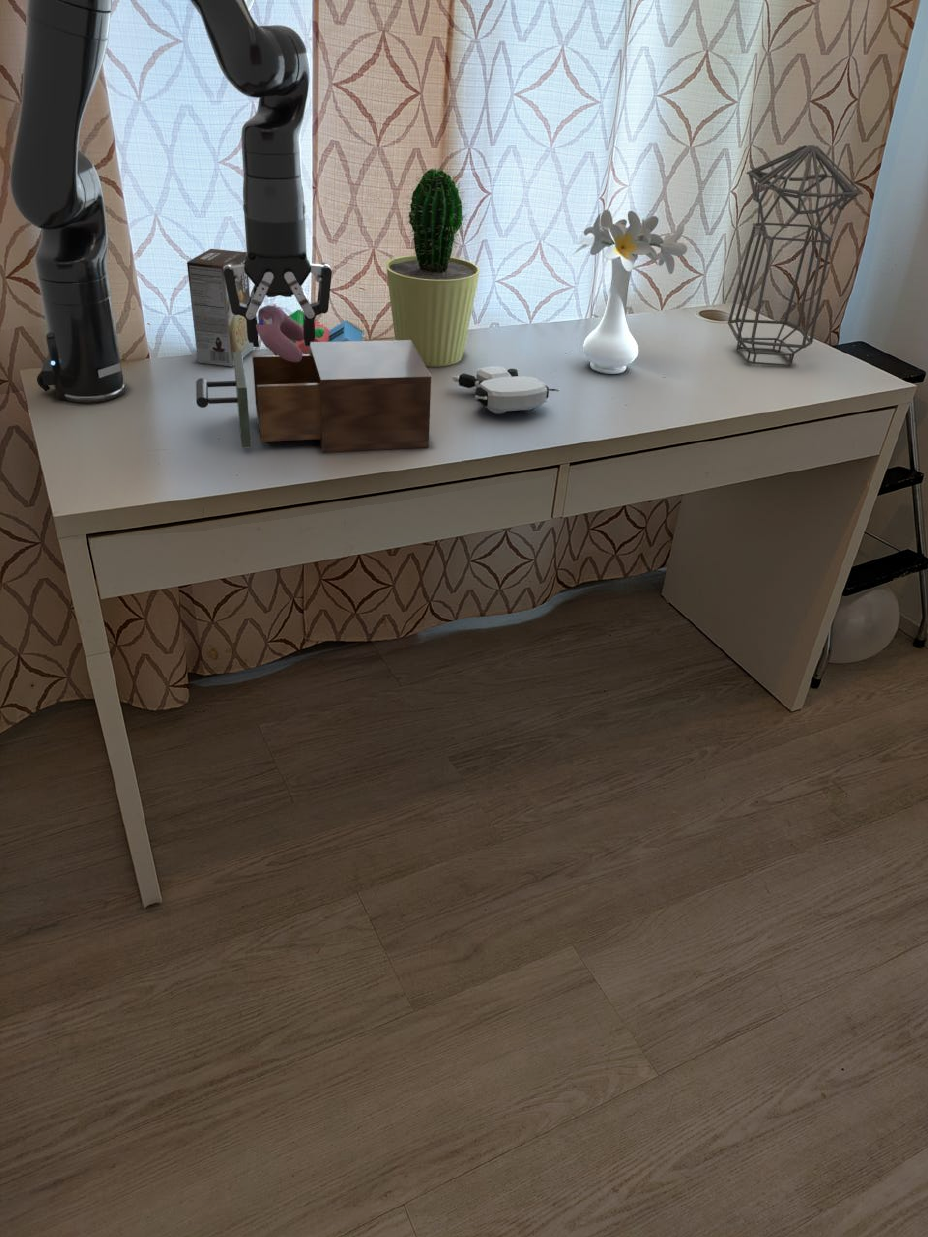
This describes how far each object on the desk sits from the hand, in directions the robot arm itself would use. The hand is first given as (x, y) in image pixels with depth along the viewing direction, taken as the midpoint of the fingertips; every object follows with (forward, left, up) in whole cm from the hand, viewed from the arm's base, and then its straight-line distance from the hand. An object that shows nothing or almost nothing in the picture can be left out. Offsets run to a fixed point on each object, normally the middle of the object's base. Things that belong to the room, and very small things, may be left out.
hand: (281, 344), depth 130 cm
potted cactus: (+27, +29, -13) cm, 42 cm away
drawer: (-2, 0, -12) cm, 12 cm away
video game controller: (0, 0, -1) cm, 1 cm away
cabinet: (+12, 0, -13) cm, 17 cm away
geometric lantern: (+87, +23, -13) cm, 91 cm away
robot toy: (+34, +7, -13) cm, 37 cm away
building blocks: (+9, +31, -13) cm, 35 cm away
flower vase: (+57, +21, -13) cm, 62 cm away
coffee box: (-7, +31, -13) cm, 35 cm away
